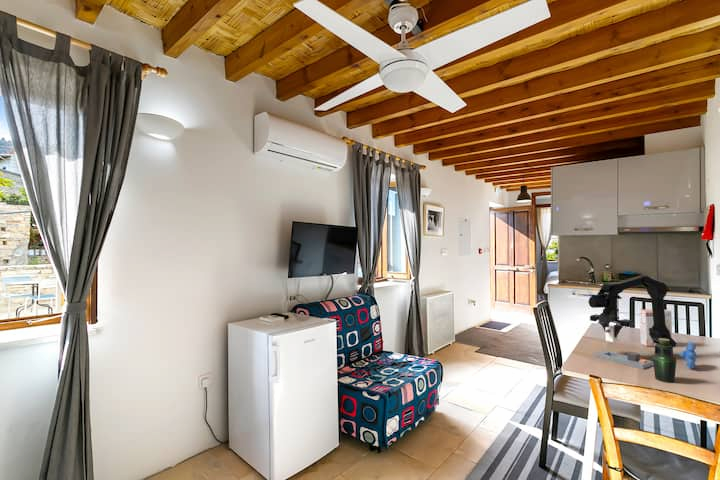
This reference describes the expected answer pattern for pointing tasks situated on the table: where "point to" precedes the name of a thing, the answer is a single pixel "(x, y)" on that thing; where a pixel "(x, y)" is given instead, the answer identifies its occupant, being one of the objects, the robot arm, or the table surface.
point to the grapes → (689, 355)
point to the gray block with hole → (625, 359)
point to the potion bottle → (664, 362)
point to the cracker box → (647, 323)
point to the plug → (610, 334)
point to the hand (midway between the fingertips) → (611, 336)
